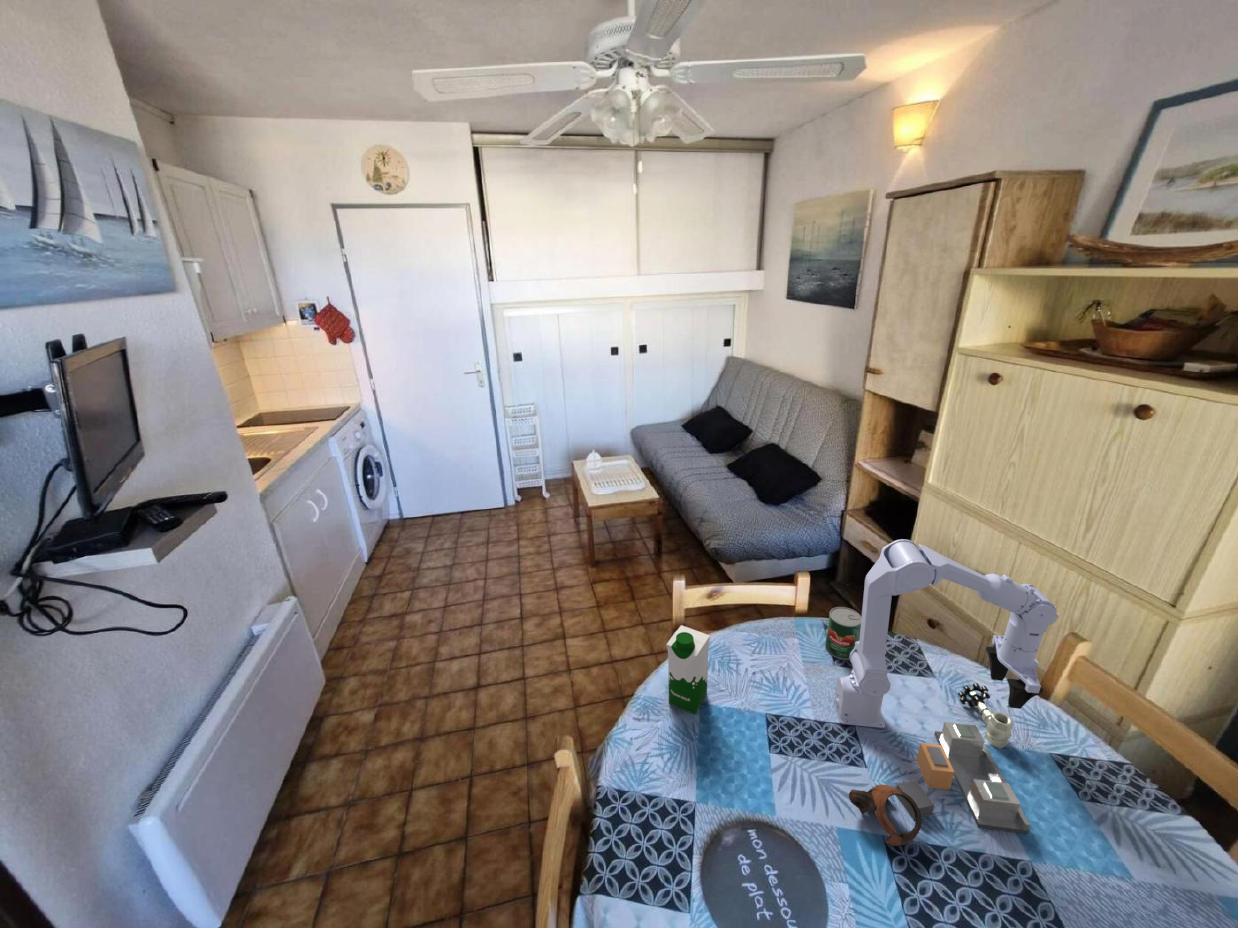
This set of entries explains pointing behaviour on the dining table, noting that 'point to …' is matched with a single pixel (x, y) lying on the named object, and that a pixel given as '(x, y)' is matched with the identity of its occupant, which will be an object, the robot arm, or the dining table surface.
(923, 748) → the orange module
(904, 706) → the dining table surface
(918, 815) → the knobbed brown ring
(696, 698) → the milk carton
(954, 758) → the rail plate
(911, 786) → the dark gray block
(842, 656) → the canned tomato
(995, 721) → the valve
